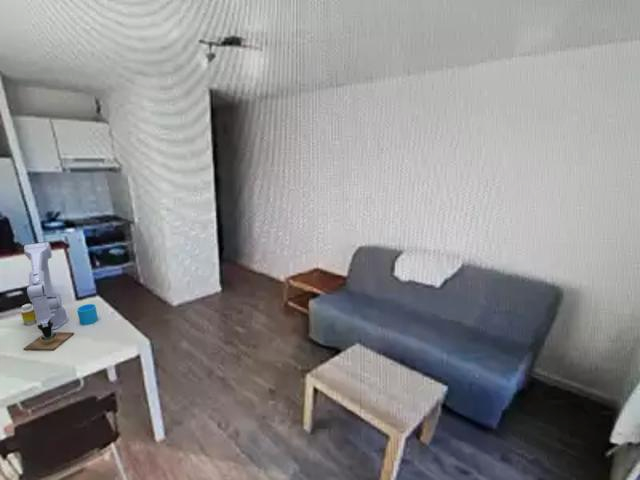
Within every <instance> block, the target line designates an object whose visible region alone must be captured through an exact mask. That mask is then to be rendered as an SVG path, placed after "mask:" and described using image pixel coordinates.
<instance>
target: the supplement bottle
mask: <svg viewBox="0 0 640 480" xmlns="http://www.w3.org/2000/svg"><path fill="white" fill-rule="evenodd" d="M20 314H21V317H22V321H23V324H24V325H25V326H32V325H34V324H37V323H38V322H37V321H36V316H35V312H34V308H33V305H32V303H26V304H24V305H22V306H21V310H20Z"/></svg>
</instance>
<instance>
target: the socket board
mask: <svg viewBox="0 0 640 480" xmlns="http://www.w3.org/2000/svg"><path fill="white" fill-rule="evenodd" d="M53 333H57V334H58V340H56V341H55V342H53V343H50V344H41V343H40V337H42V336H43V334H41V335H40V336H38V337H37V338H36V339H34V340H33V341H32V342H30V343H29V344H28V345H26V346H25V347H23V351H43V352H46V351H48V352H55V350H56V349H58V348H59V347H60V346H61V345H62V346H63V344H64V343H65V342H67V341H68V340H69V339H70V338H71V337H73V336H74V335H75V332H73V331H72V332H70V331H68V332H67V331H66V332H65V331H63V332H60V331H53Z"/></svg>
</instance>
